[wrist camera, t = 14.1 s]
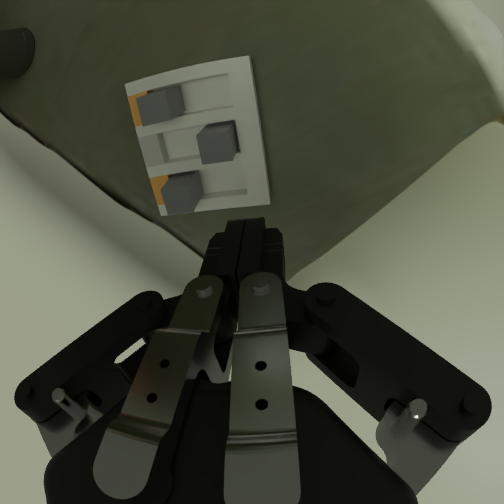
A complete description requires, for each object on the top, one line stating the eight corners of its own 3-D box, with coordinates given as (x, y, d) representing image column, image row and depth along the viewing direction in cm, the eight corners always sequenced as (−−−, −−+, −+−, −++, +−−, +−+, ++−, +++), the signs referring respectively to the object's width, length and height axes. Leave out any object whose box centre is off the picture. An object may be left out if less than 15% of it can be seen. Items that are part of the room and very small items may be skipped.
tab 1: (160, 116, 36) (142, 126, 31) (154, 91, 34) (135, 98, 29) (185, 110, 35) (170, 120, 31) (180, 85, 33) (164, 90, 28)
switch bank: (167, 206, 45) (161, 215, 43) (134, 81, 34) (124, 84, 31) (270, 194, 43) (270, 204, 41) (250, 55, 32) (248, 55, 29)
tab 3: (212, 149, 38) (202, 165, 34) (207, 124, 36) (195, 135, 32) (238, 145, 38) (232, 160, 33) (234, 120, 36) (227, 130, 31)
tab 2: (180, 194, 43) (167, 214, 38) (174, 172, 41) (160, 190, 36) (203, 191, 42) (193, 211, 38) (198, 168, 40) (187, 186, 35)
